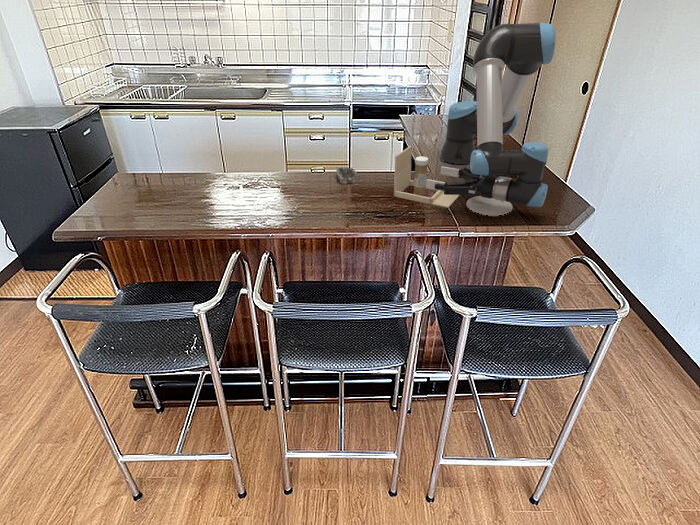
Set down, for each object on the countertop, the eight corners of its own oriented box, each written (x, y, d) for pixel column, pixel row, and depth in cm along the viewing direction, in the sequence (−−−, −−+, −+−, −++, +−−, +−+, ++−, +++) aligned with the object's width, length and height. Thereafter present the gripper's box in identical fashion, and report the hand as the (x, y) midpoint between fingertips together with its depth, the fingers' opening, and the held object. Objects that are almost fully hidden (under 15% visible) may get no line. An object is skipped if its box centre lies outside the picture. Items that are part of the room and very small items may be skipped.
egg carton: (358, 183, 169) (358, 173, 167) (339, 185, 168) (338, 175, 166) (354, 173, 178) (354, 164, 176) (336, 175, 177) (335, 165, 175)
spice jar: (412, 191, 161) (414, 156, 154) (424, 191, 161) (427, 155, 154) (413, 196, 157) (416, 160, 150) (426, 196, 157) (429, 160, 150)
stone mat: (487, 193, 158) (487, 192, 157) (521, 208, 147) (522, 206, 147) (457, 204, 151) (457, 202, 150) (491, 220, 140) (491, 218, 140)
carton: (460, 194, 158) (465, 154, 149) (448, 208, 149) (452, 165, 140) (408, 184, 167) (410, 145, 159) (393, 196, 158) (395, 155, 150)
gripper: (482, 213, 136) (419, 199, 145) (503, 185, 154) (445, 174, 163) (486, 190, 132) (420, 178, 141) (506, 164, 150) (447, 155, 159)
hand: (434, 176), depth 152 cm, fingers open, 13 cm apart
